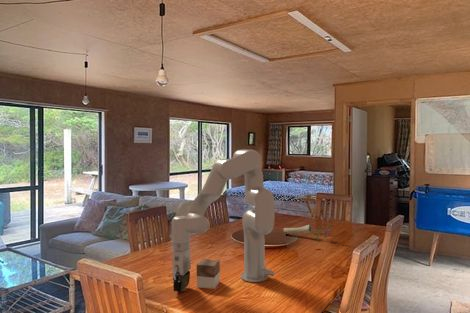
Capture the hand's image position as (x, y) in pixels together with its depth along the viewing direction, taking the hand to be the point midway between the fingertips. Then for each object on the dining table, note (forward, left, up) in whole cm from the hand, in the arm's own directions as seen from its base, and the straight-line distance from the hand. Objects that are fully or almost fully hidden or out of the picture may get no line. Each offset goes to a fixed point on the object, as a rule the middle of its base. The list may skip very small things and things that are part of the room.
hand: (181, 286), depth 146 cm
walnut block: (-9, -9, +3) cm, 13 cm away
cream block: (-9, -9, -2) cm, 13 cm away
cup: (0, 0, -2) cm, 2 cm away
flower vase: (-52, -97, -2) cm, 110 cm away
